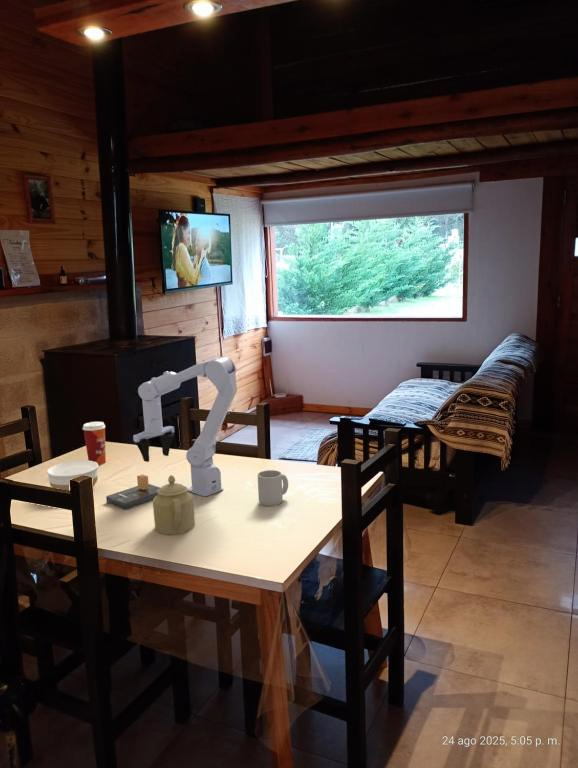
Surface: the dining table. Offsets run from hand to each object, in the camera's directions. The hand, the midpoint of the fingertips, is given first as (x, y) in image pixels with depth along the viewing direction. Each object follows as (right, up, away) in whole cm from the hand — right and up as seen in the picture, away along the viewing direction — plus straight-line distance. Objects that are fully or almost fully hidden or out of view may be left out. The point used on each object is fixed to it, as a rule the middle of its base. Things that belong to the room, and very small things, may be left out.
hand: (156, 458), depth 208 cm
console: (-4, -12, -8) cm, 15 cm away
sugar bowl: (+13, -16, -32) cm, 38 cm away
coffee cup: (-28, -5, +31) cm, 42 cm away
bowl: (-27, -11, +1) cm, 29 cm away
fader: (-3, -9, -5) cm, 11 cm away
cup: (+39, -12, -14) cm, 43 cm away
